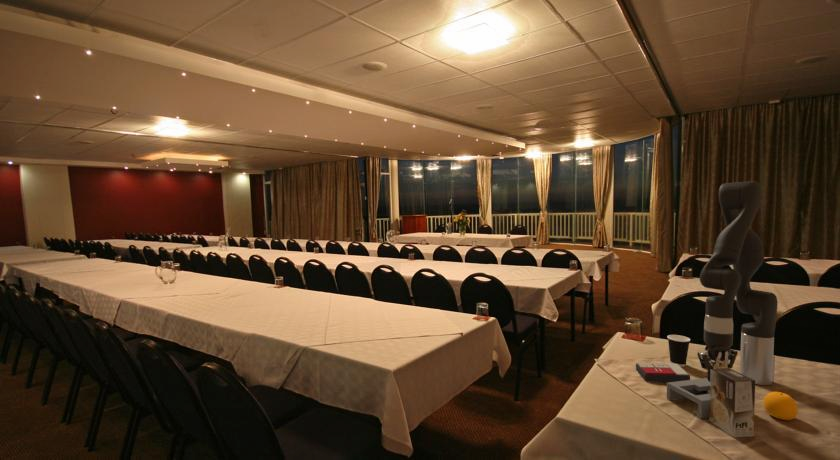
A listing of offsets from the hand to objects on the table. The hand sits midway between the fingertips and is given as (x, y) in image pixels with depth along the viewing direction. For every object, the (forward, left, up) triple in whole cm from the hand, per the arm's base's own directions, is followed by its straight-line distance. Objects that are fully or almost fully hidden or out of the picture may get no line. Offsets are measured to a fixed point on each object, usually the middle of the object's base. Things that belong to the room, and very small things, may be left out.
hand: (716, 381), depth 130 cm
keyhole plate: (+4, 0, -7) cm, 8 cm away
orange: (-11, +11, -8) cm, 18 cm away
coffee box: (+9, +13, -8) cm, 18 cm away
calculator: (0, -21, -8) cm, 23 cm away
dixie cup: (-15, -30, -8) cm, 35 cm away
